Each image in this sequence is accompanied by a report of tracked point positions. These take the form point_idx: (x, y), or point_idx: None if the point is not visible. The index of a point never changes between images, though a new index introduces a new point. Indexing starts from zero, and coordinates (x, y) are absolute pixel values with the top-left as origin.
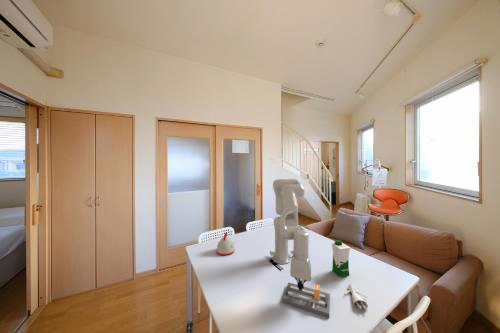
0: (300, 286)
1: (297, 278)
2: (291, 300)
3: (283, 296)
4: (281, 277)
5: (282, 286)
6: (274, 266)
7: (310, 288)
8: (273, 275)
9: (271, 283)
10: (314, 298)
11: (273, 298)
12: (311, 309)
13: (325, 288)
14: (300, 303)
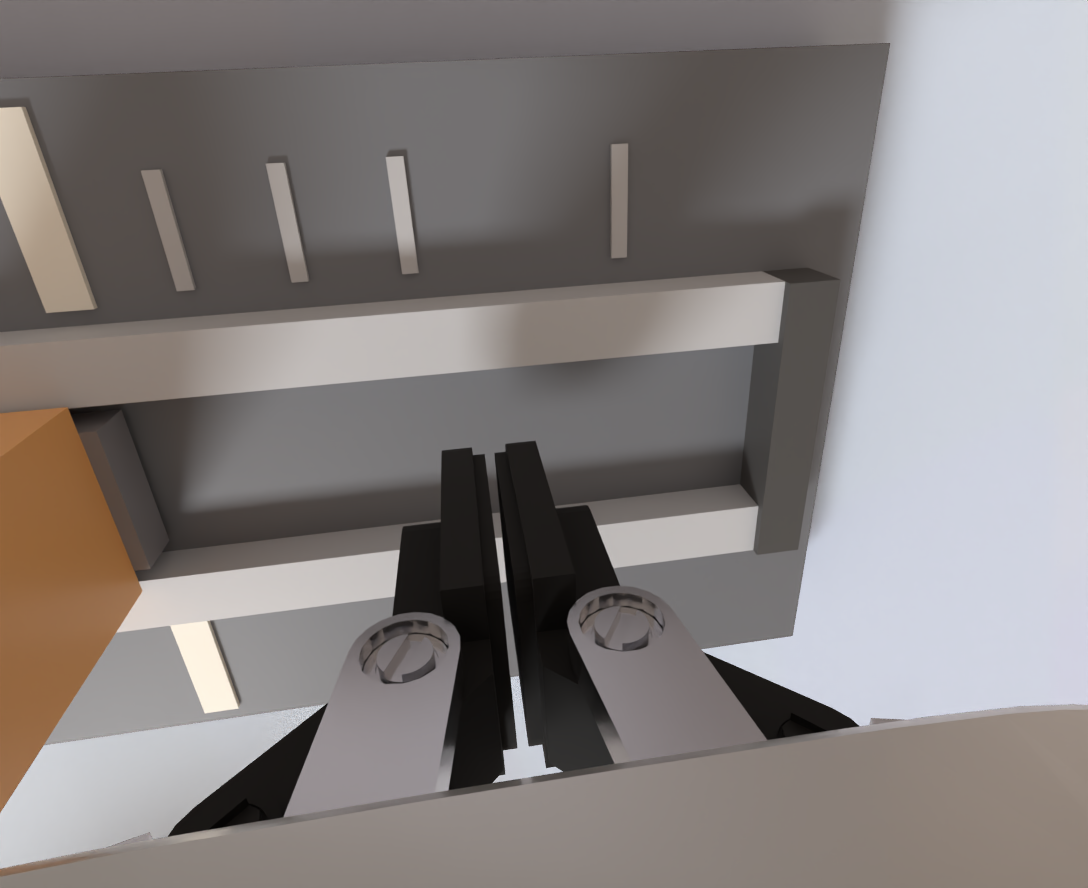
0: (486, 522)
1: (689, 736)
2: (645, 105)
3: (862, 157)
4: (893, 695)
5: (862, 520)
6: None
7: None
8: (1026, 671)
9: (1063, 490)
10: (50, 412)
11: (1029, 94)
12: (62, 77)
13: (147, 832)
14: (391, 114)
